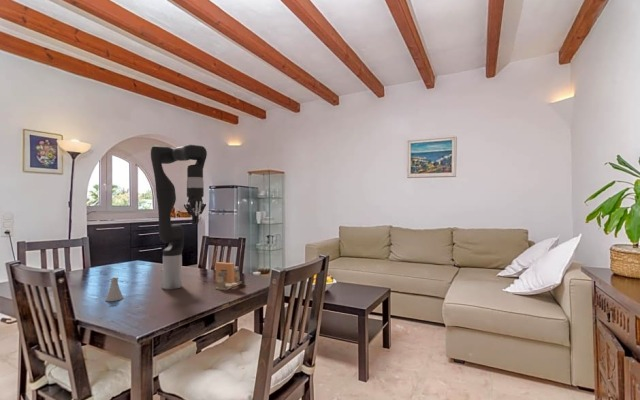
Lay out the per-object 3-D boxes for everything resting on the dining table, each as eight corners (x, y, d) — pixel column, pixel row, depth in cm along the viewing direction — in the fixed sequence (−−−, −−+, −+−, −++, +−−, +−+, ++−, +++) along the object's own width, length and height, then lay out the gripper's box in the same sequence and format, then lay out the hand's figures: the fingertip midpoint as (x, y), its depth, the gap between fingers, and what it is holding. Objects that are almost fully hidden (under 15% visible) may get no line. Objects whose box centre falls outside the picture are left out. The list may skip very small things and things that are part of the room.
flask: (104, 302, 149) (104, 280, 149) (106, 298, 155) (106, 277, 155) (122, 300, 152) (122, 278, 152) (124, 296, 159) (123, 275, 159)
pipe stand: (225, 290, 169) (225, 271, 169) (215, 289, 171) (215, 271, 171) (241, 283, 183) (241, 266, 183) (232, 282, 185) (232, 265, 185)
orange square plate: (215, 281, 174) (215, 262, 174) (218, 280, 176) (218, 262, 176) (231, 283, 171) (231, 264, 170) (234, 282, 173) (234, 263, 173)
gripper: (198, 187, 165) (198, 222, 165) (178, 186, 152) (178, 224, 152) (210, 187, 162) (211, 222, 162) (191, 186, 150) (191, 224, 150)
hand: (195, 223), depth 157 cm, fingers closed
